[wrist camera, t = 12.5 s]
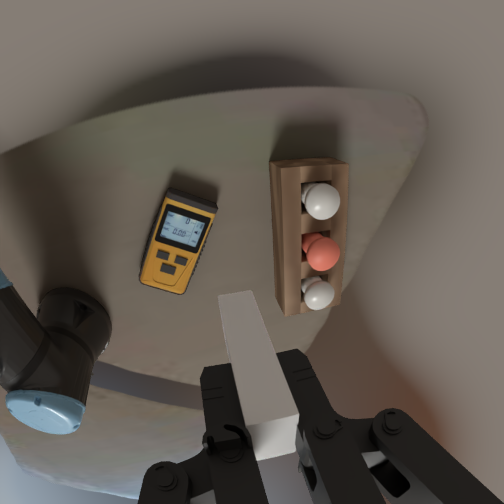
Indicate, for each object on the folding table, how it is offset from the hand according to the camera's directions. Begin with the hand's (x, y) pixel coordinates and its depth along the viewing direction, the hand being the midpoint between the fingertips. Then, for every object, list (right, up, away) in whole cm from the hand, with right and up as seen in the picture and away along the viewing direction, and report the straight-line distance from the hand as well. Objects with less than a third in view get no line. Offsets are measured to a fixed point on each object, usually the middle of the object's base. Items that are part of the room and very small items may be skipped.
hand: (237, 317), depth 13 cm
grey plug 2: (+10, -1, +38) cm, 39 cm away
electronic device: (-11, +5, +33) cm, 35 cm away
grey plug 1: (+9, +13, +31) cm, 35 cm away
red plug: (+9, +6, +34) cm, 36 cm away
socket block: (+9, +6, +36) cm, 37 cm away
